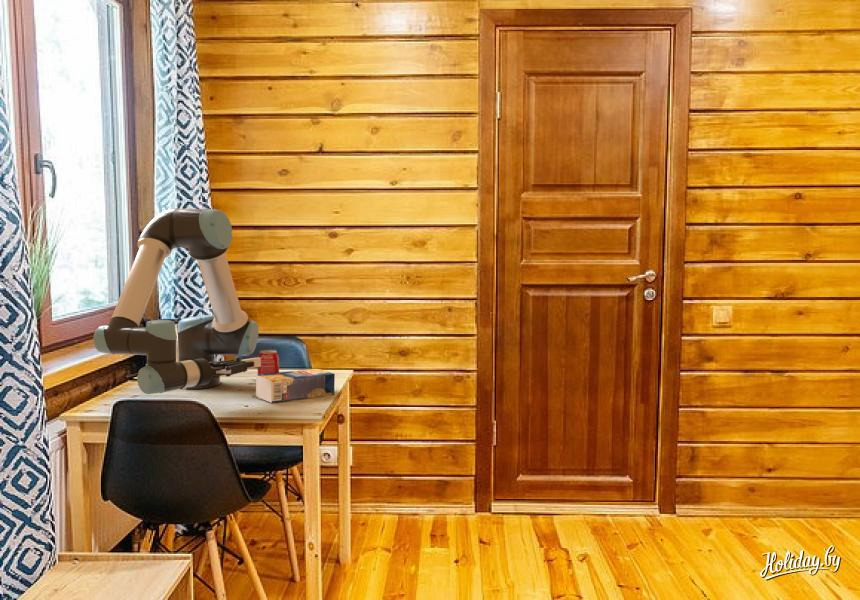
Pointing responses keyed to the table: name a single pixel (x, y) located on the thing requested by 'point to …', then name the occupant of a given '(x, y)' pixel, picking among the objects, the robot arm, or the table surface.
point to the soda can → (268, 362)
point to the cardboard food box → (294, 385)
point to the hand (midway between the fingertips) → (259, 361)
